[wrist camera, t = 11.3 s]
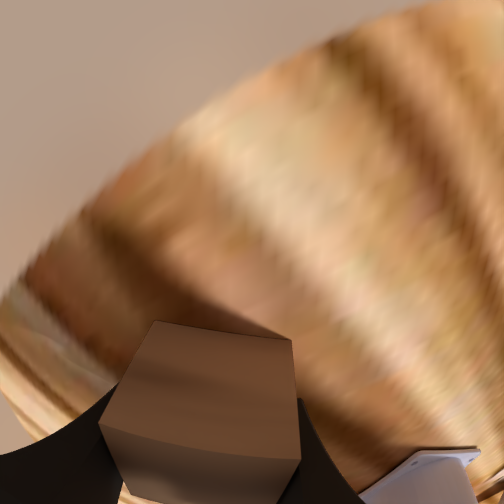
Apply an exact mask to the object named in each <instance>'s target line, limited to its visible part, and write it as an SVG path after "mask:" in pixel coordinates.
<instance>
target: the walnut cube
mask: <svg viewBox="0 0 504 504" xmlns="http://www.w3.org/2000/svg"><path fill="white" fill-rule="evenodd" d="M98 424H99V426H100V429H101V431H102V434H103V436H104V439H105V441H106V444H107V446H108V448H109V451H110V453H111V455H112V457H113V460H114V462H115V464H116V466H117V468H118V470H119V472H120V475H121V477H122V479H123V481H124V483H125V485H126V486H127V488H128V490H129V492H130V494H131V495H133V496H137V497H140V498H144V499H147V500H151V501H155V502H159V503H163V504H276V503H277V501H278V500H279V498H280V496H281V495H282V493H283V491H284V489H285V488H286V486H287V484H288V483H289V481H290V479H291V477H292V475H293V474H294V472H295V470H296V468H297V466H298V464H299V462H300V461H301V448H300V434H299V421H298V408H297V396H296V384H295V373H294V362H293V351H292V341H291V340H282V339H273V338H265V337H256V336H249V335H241V334H234V333H227V332H220V331H214V330H207V329H201V328H195V327H189V326H183V325H178V324H172V323H167V322H162V321H156V320H155V321H154V322H153V324H152V326H151V328H150V329H149V331H148V333H147V334H146V336H145V338H144V340H143V341H142V343H141V345H140V347H139V348H138V350H137V352H136V354H135V356H134V357H133V359H132V361H131V363H130V364H129V366H128V368H127V370H126V372H125V374H124V375H123V377H122V379H121V381H120V383H119V385H118V386H117V388H116V390H115V392H114V394H113V396H112V398H111V399H110V401H109V403H108V405H107V407H106V409H105V411H104V413H103V415H102V417H101V418H100V420H99V422H98Z"/></svg>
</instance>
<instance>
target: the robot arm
mask: <svg viewBox="0 0 504 504" xmlns="http://www.w3.org/2000/svg"><path fill="white" fill-rule="evenodd" d="M119 383H120V382H119ZM119 383H118V384H117V385H115V386H114V387H113V388H112V389H111V390H110V391H109V392H108V393H107V394H106V395H105V396H103V397H102V398H101V399H100V400H99V401H98V402H97V403H95V404H94V405H93V406H92V407H91V408H89V409H88V410H87V411H85V412H84V413H83V414H82V415H80V416H79V417H78V418H76V419H75V420H74V421H72V422H71V423H69V424H68V425H66V426H65V427H63V428H61V429H60V430H58V431H57V432H55V433H53V434H51V435H49V436H48V437H46V438H44V439H42V440H40V441H38V442H36V443H33V444H31V445H29V446H26V447H24V448H21V449H18V450H16V451H13V452H10V453H7V454H3V455H0V504H117V503H118V499H119V495H120V492H121V488H122V484H123V479H122V477H121V475H120V472H119V470H118V468H117V466H116V464H115V462H114V460H113V457H112V455H111V453H110V451H109V448H108V446H107V444H106V441H105V439H104V436H103V434H102V431H101V429H100V426H99V424H98V422H99V420H100V418H101V417H102V415H103V413H104V411H105V409H106V407H107V405H108V403H109V401H110V399H111V398H112V396H113V394H114V392H115V390H116V388H117V386H118V385H119ZM297 408H298V421H299V434H300V448H301V461H300V462H299V464H298V466H297V468H296V470H295V472H294V474H293V475H292V477H291V479H290V481H289V483H288V484H287V486H286V488H285V489H284V491H283V493H282V495H281V496H280V498H279V500H278V501H277V503H276V504H478V501H477V499H476V496H475V493H474V491H473V488H472V486H471V483H470V480H469V478H468V475H467V473H466V471H465V467H466V466H467V465H468V464H469V463H471V462H472V461H473V460H474V459H475V458H477V457H478V456H479V455H480V454H481V450H480V449H465V450H422V451H418V452H416V453H415V454H413V455H412V456H411V457H410V458H408V459H407V460H406V461H405V462H403V463H402V464H401V465H400V466H398V467H397V468H396V469H394V470H393V471H392V472H391V473H389V474H388V475H387V476H385V477H384V478H382V479H381V480H380V481H378V482H377V483H375V484H374V485H373V486H371V487H370V488H368V489H367V490H365V491H364V492H362V493H361V494H359V495H357V494H356V492H355V491H354V490H353V489H352V488H351V486H350V485H349V484H348V483H347V481H346V480H345V479H344V477H343V476H342V475H341V473H340V472H339V470H338V469H337V467H336V466H335V464H334V463H333V461H332V460H331V458H330V456H329V455H328V453H327V451H326V449H325V448H324V446H323V444H322V442H321V440H320V438H319V436H318V435H317V433H316V430H315V428H314V426H313V424H312V422H311V420H310V417H309V415H308V413H307V410H306V408H305V405H304V402H303V400H302V399H301V398H297Z"/></svg>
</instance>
